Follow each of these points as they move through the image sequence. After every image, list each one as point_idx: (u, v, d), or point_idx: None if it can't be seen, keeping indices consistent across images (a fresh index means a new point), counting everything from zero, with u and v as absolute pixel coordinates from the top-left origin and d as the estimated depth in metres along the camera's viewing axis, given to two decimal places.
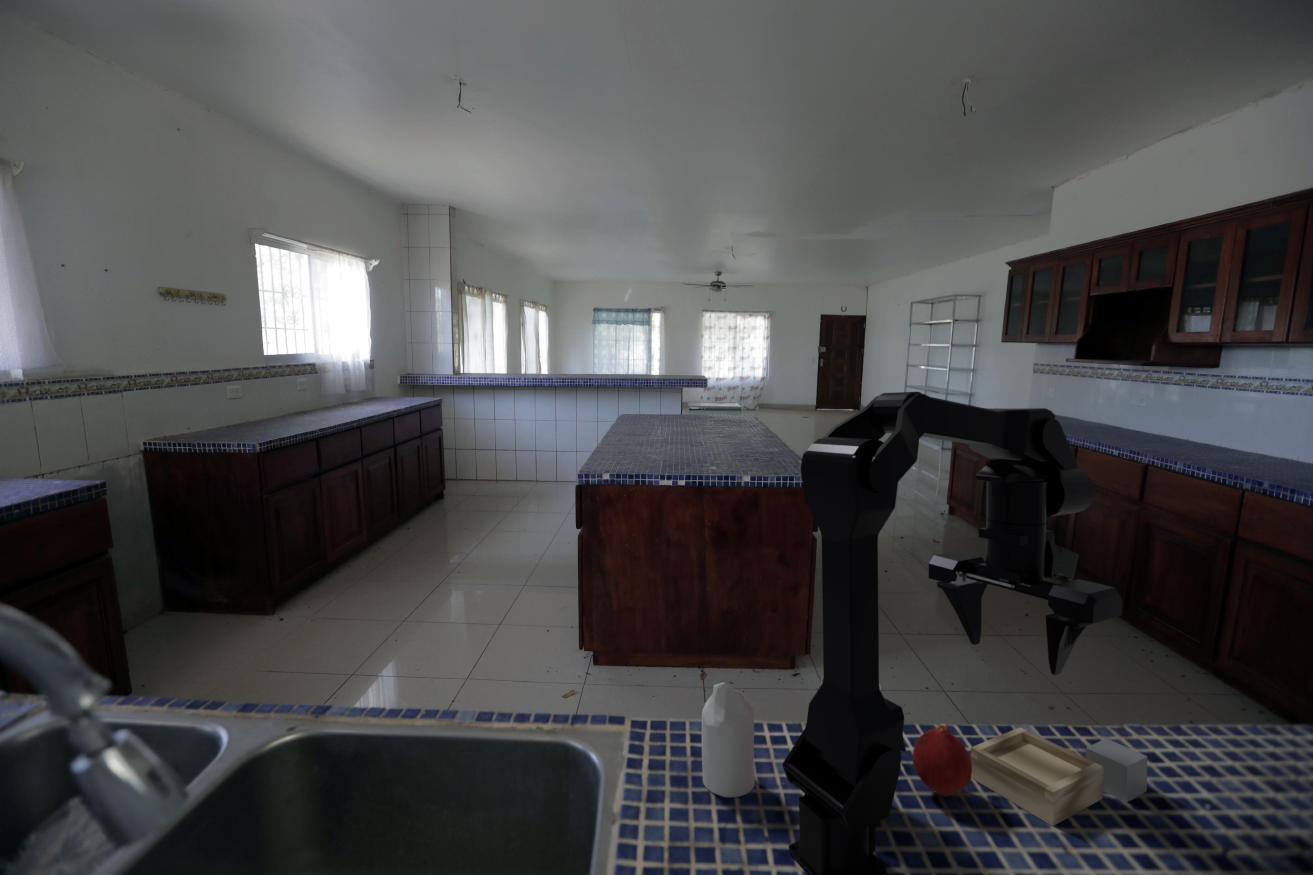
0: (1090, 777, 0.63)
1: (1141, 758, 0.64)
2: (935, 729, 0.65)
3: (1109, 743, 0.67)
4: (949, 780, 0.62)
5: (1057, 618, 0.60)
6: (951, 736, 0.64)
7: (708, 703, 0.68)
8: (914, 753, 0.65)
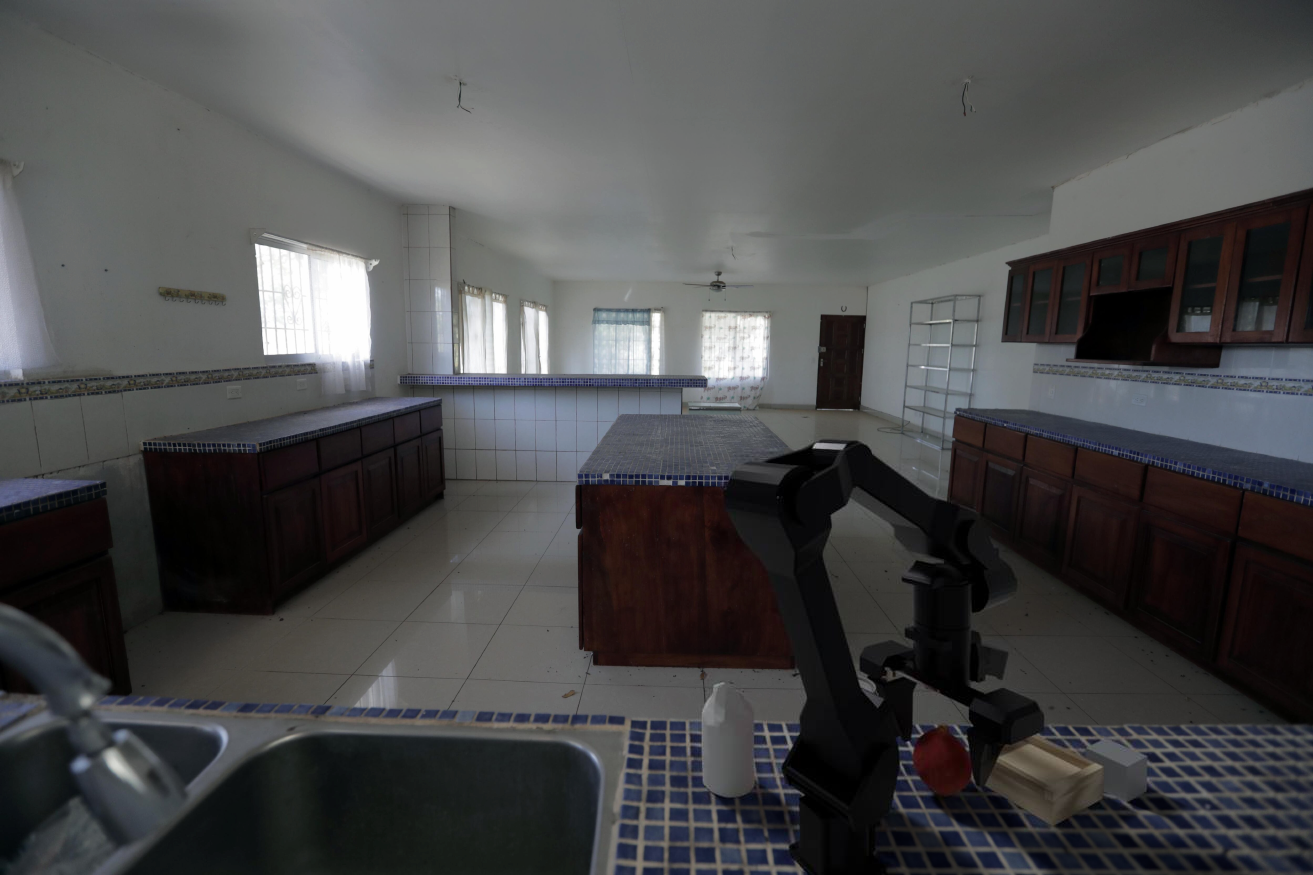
0: (1090, 777, 0.63)
1: (1141, 758, 0.64)
2: (935, 729, 0.65)
3: (1109, 743, 0.67)
4: (949, 780, 0.62)
5: (978, 734, 0.57)
6: (951, 736, 0.64)
7: (708, 703, 0.68)
8: (914, 753, 0.65)
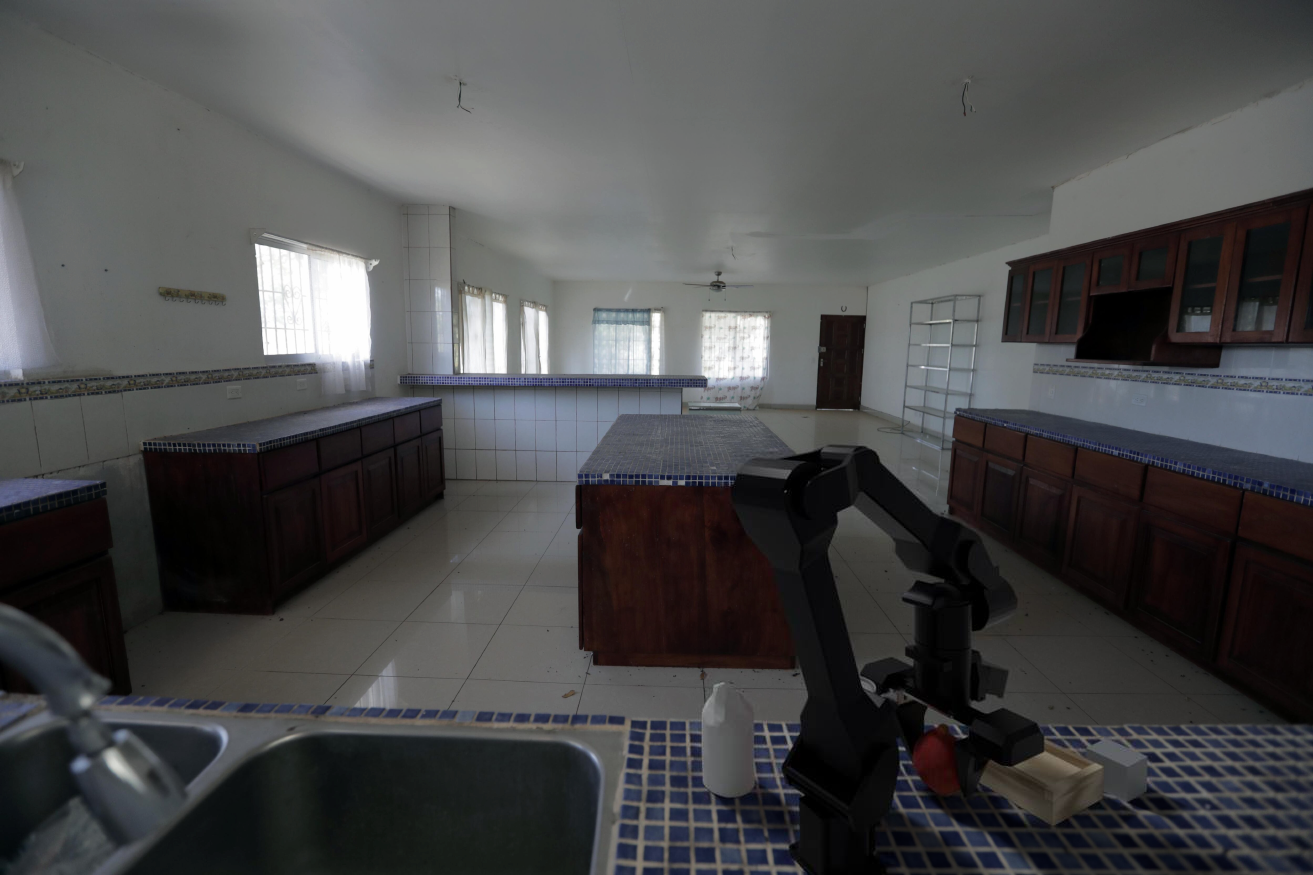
0: (1090, 777, 0.63)
1: (1141, 758, 0.64)
2: (935, 729, 0.65)
3: (1109, 743, 0.67)
4: (949, 780, 0.62)
5: (964, 747, 0.59)
6: (951, 736, 0.64)
7: (708, 703, 0.68)
8: (914, 753, 0.65)
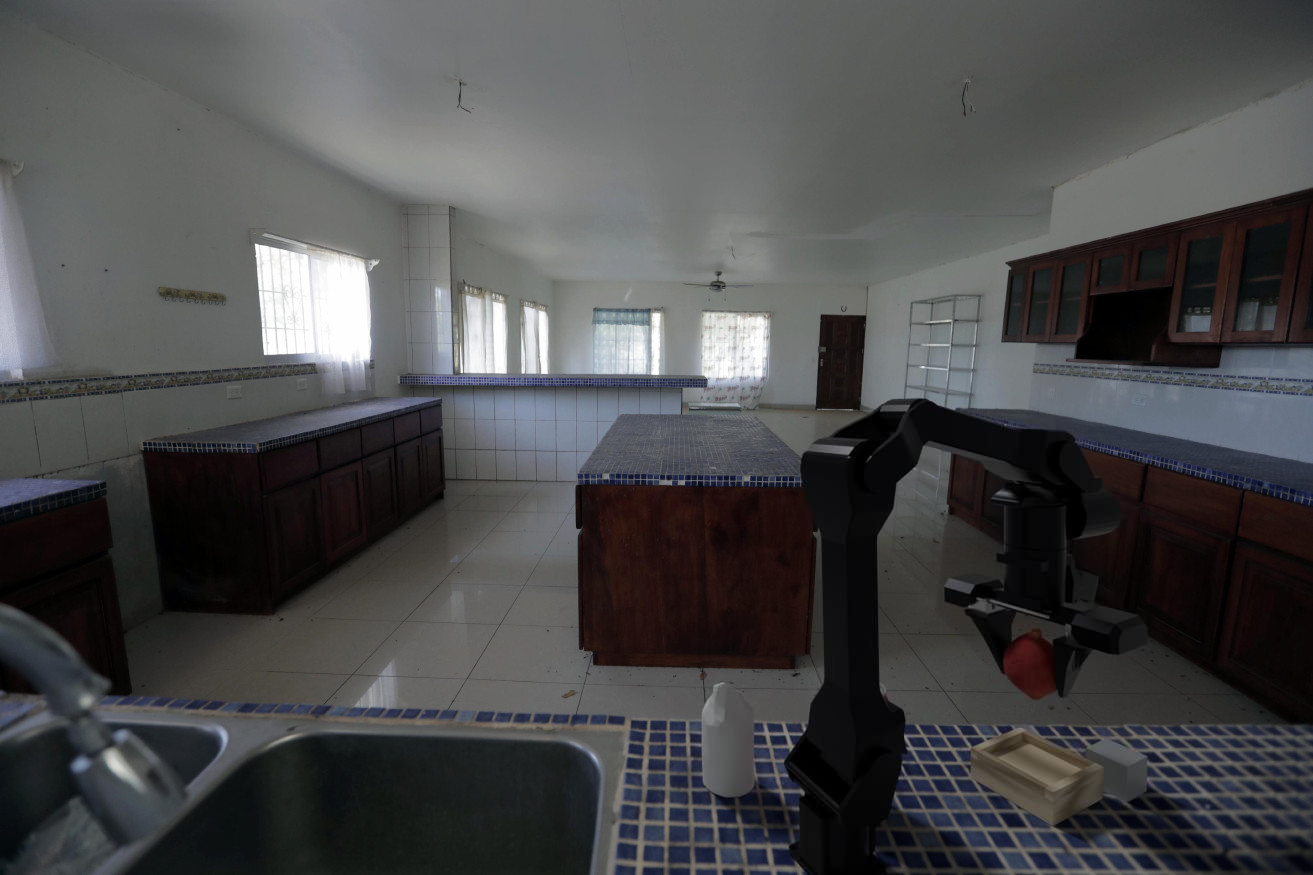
0: (1090, 777, 0.63)
1: (1141, 758, 0.64)
2: (1027, 633, 0.65)
3: (1109, 743, 0.67)
4: (1045, 680, 0.62)
5: (1065, 643, 0.59)
6: (1044, 639, 0.64)
7: (708, 703, 0.68)
8: (1006, 658, 0.66)
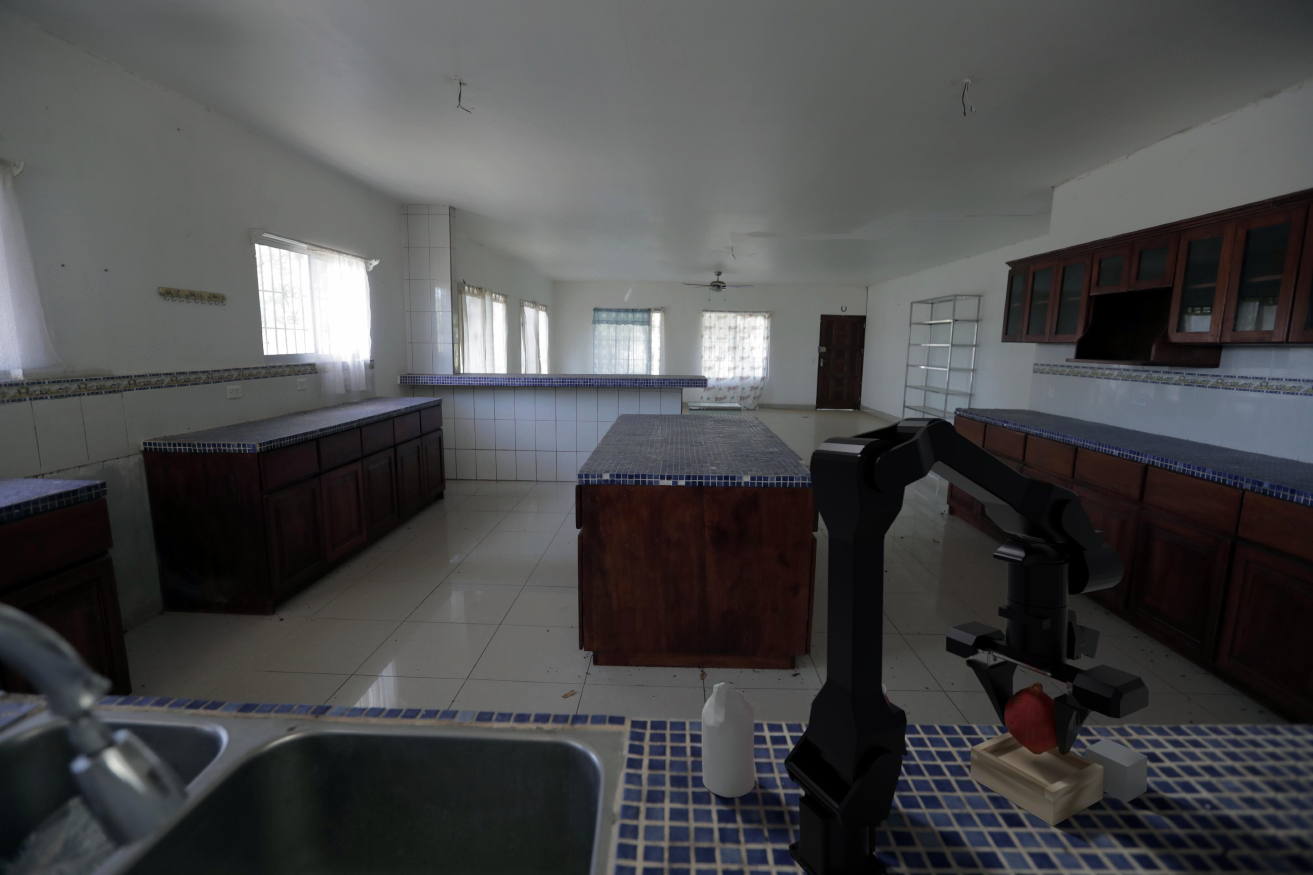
0: (1090, 777, 0.63)
1: (1141, 758, 0.64)
2: (1028, 688, 0.65)
3: (1109, 743, 0.67)
4: (1046, 736, 0.63)
5: (1066, 702, 0.60)
6: (1045, 694, 0.65)
7: (708, 703, 0.68)
8: (1007, 712, 0.66)
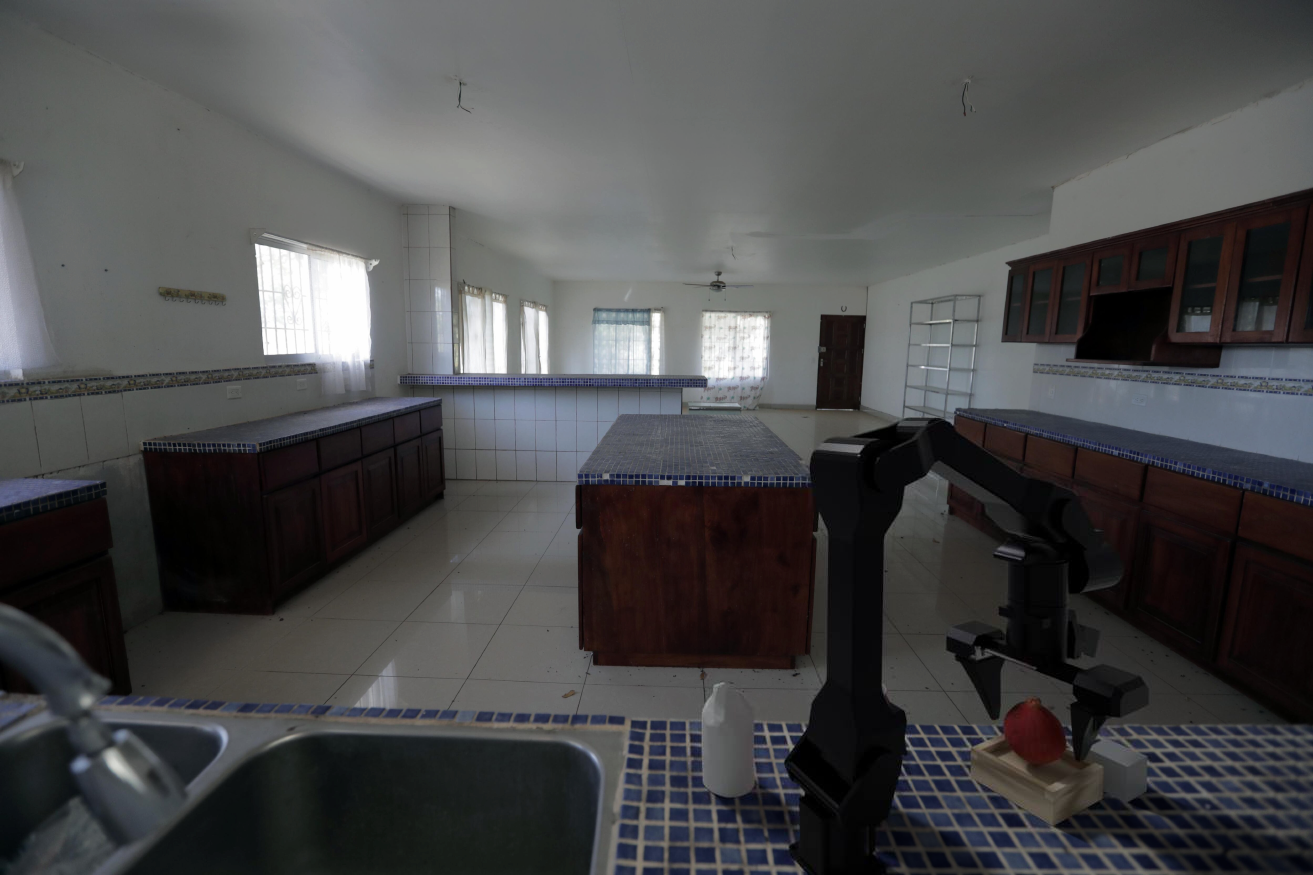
0: (1090, 777, 0.63)
1: (1141, 758, 0.64)
2: (1026, 702, 0.65)
3: (1109, 743, 0.67)
4: (1045, 752, 0.62)
5: (1083, 708, 0.58)
6: (1044, 708, 0.64)
7: (708, 703, 0.68)
8: (1006, 726, 0.66)
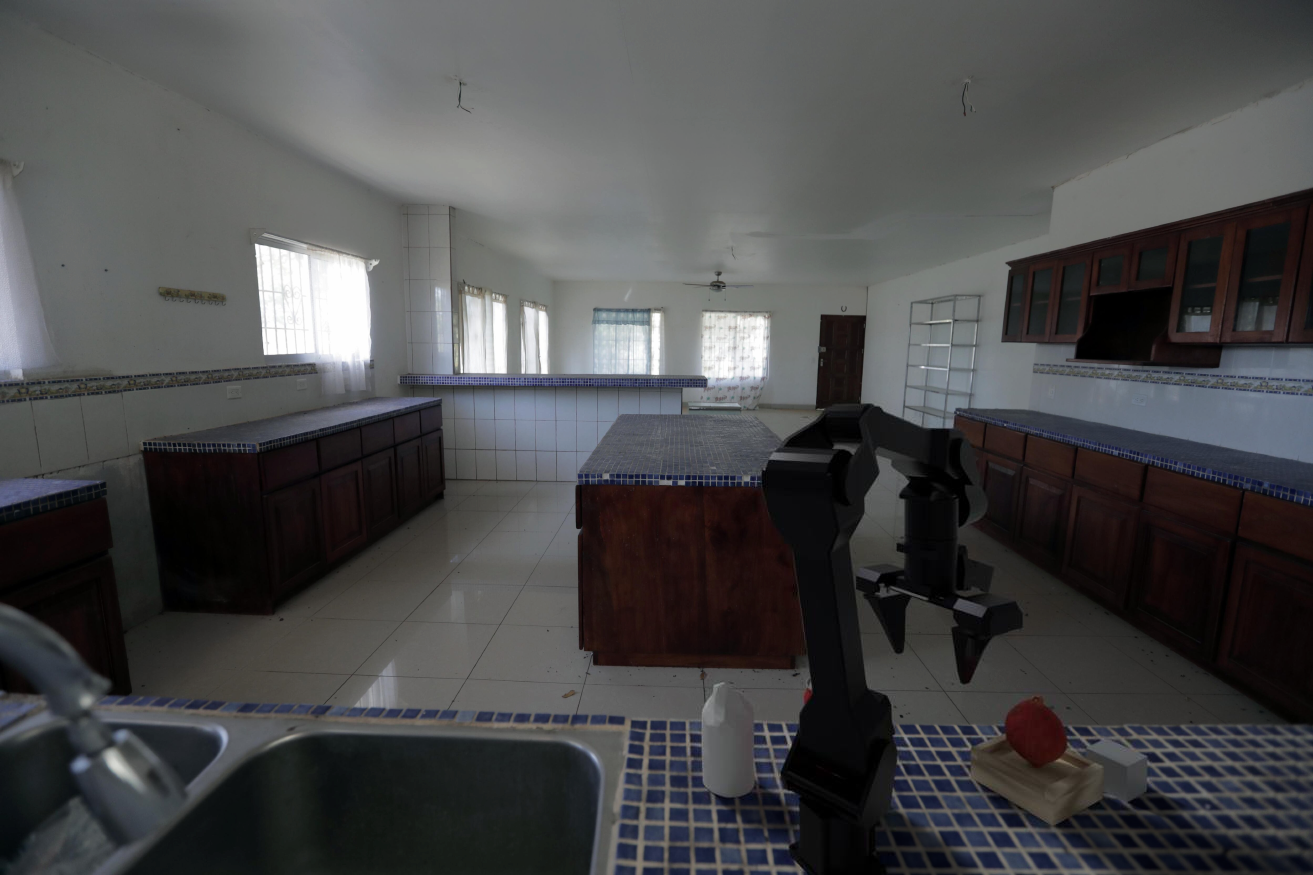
0: (1090, 777, 0.63)
1: (1141, 758, 0.64)
2: (1029, 700, 0.66)
3: (1109, 743, 0.67)
4: (1047, 749, 0.63)
5: (961, 630, 0.62)
6: (1046, 707, 0.65)
7: (708, 703, 0.68)
8: (1007, 724, 0.66)
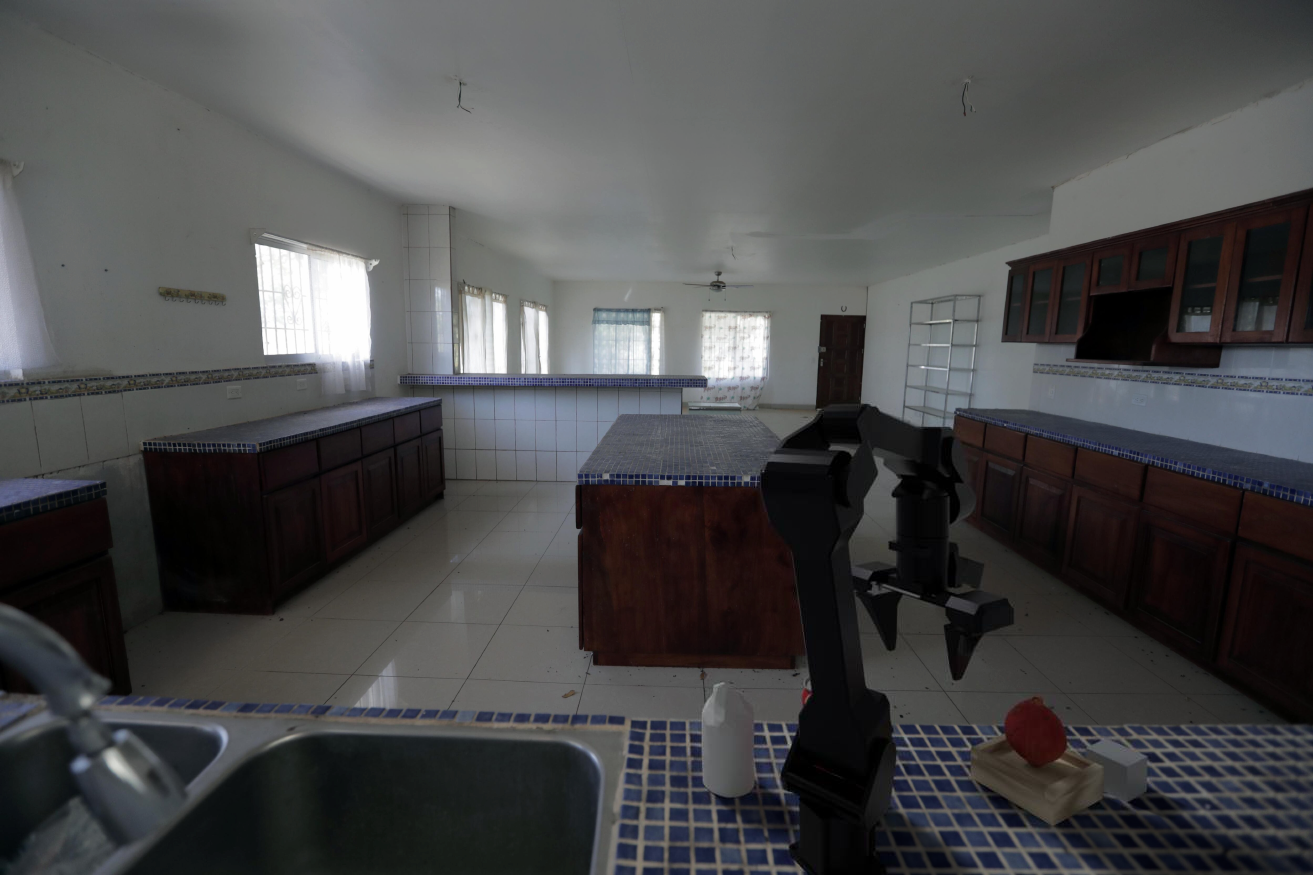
0: (1090, 777, 0.63)
1: (1141, 758, 0.64)
2: (1028, 700, 0.66)
3: (1109, 743, 0.67)
4: (1046, 749, 0.63)
5: (953, 627, 0.63)
6: (1045, 707, 0.65)
7: (708, 703, 0.68)
8: (1007, 724, 0.66)
